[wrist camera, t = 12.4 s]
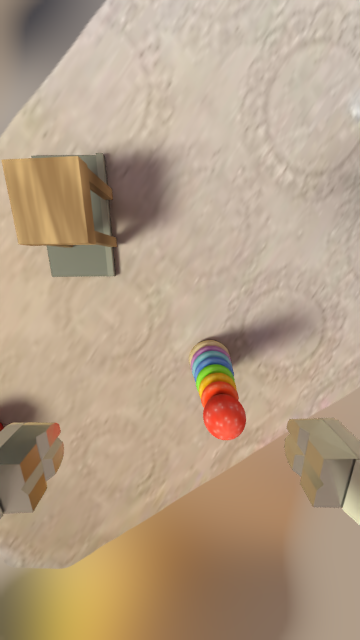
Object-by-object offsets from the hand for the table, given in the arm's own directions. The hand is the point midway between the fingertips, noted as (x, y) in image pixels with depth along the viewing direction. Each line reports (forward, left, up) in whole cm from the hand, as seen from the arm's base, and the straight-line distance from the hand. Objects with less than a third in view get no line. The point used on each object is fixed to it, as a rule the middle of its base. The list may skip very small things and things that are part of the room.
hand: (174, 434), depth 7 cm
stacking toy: (-6, +12, -31) cm, 34 cm away
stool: (+10, -13, -25) cm, 30 cm away
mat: (+16, -13, -31) cm, 37 cm away
